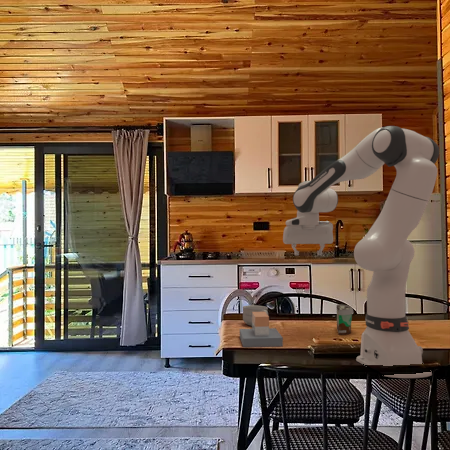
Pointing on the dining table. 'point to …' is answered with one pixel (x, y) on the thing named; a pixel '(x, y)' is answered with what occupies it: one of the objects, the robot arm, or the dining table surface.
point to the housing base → (260, 330)
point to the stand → (261, 338)
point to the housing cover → (260, 319)
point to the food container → (344, 319)
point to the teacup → (248, 312)
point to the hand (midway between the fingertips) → (308, 255)
